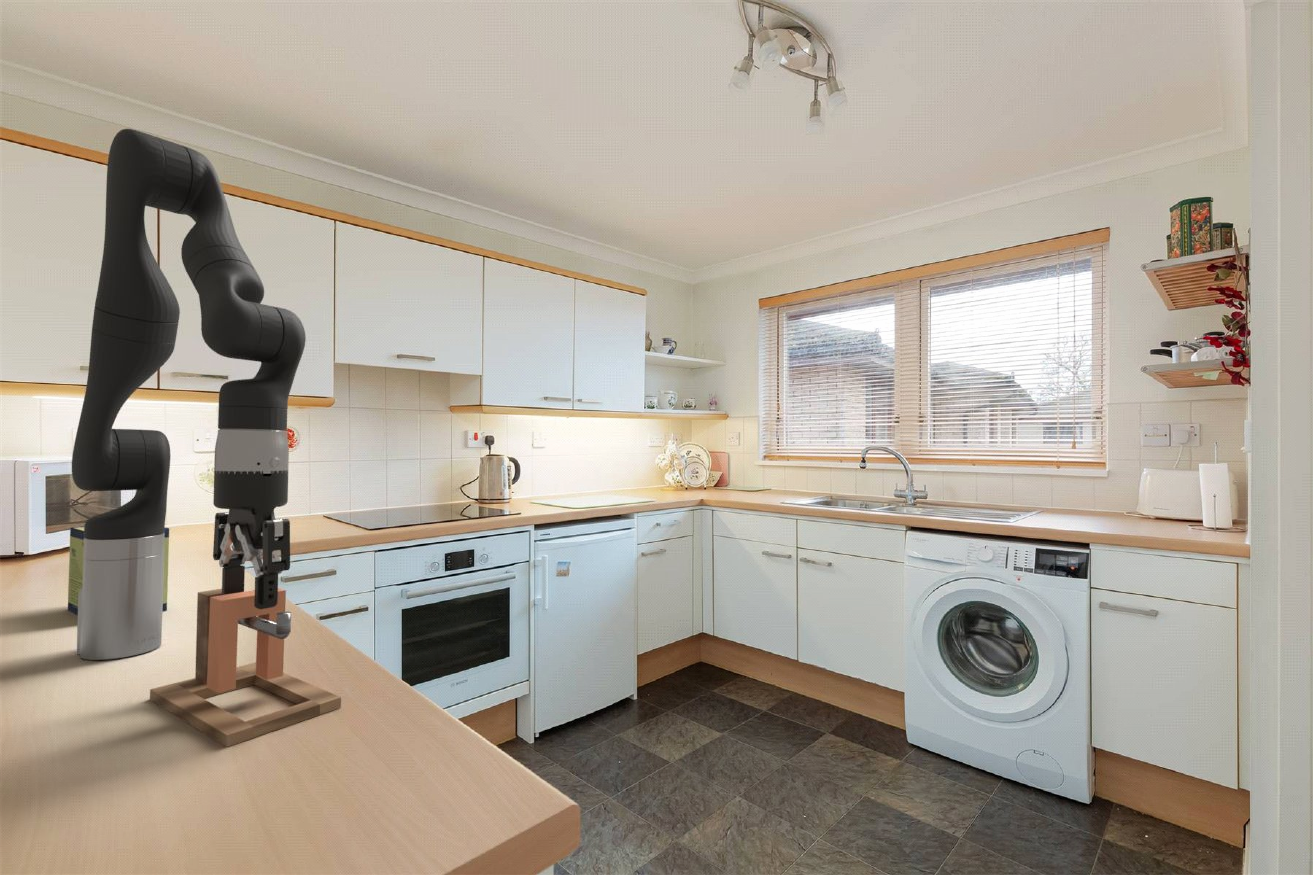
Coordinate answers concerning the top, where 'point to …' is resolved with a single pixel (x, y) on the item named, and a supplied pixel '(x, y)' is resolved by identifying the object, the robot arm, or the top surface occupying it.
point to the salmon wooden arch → (225, 639)
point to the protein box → (77, 567)
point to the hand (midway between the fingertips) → (249, 602)
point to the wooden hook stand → (219, 723)
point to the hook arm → (270, 625)
